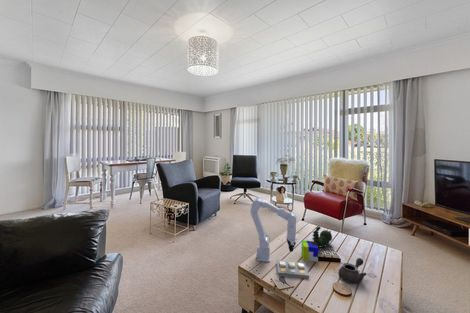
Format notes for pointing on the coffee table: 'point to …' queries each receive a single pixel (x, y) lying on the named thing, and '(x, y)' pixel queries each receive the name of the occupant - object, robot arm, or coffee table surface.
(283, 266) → the button left
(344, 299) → the coffee table surface
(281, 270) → the button board
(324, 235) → the green cactus plant
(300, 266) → the button right
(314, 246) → the puzzle toy
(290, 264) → the button middle
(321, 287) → the coffee table surface
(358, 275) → the teapot
